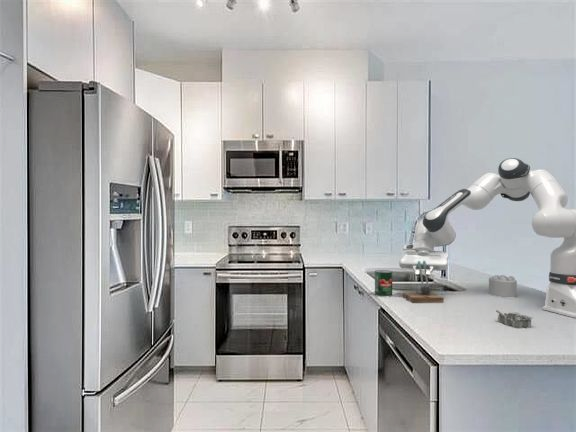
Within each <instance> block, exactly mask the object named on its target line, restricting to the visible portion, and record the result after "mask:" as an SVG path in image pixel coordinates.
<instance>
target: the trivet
mask: <svg viewBox="0 0 576 432" xmlns="http://www.w3.org/2000/svg"><path fill="white" fill-rule="evenodd" d="M430 292H431V294H422V292H419V291H415V292H407V291H405V292H402V298H403V299H405V298H406V300H407V299H408V300H407V301H409V302H410V303H413V304H425V303H426V304H432V303H433V304H434V303H435V304H436V303H437V304H439V303H440V304H443V303H444V297H442V296H440V295H438V294H436V293H434V292H432V291H430Z"/></svg>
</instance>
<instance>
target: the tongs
mask: <svg viewBox="0 0 576 432" xmlns="http://www.w3.org/2000/svg"><path fill="white" fill-rule="evenodd" d="M423 264H424V269H423V270H424V275H425V283H426V285H424V279H423V272H422V269H421V262H420V261H418V267H419V269H418V270H419V276H420V282H421V286H420V291H421V292H422V294H431V292H432V291H431V286H430V285H429V281H428V277H427V269H426V261H423Z"/></svg>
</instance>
